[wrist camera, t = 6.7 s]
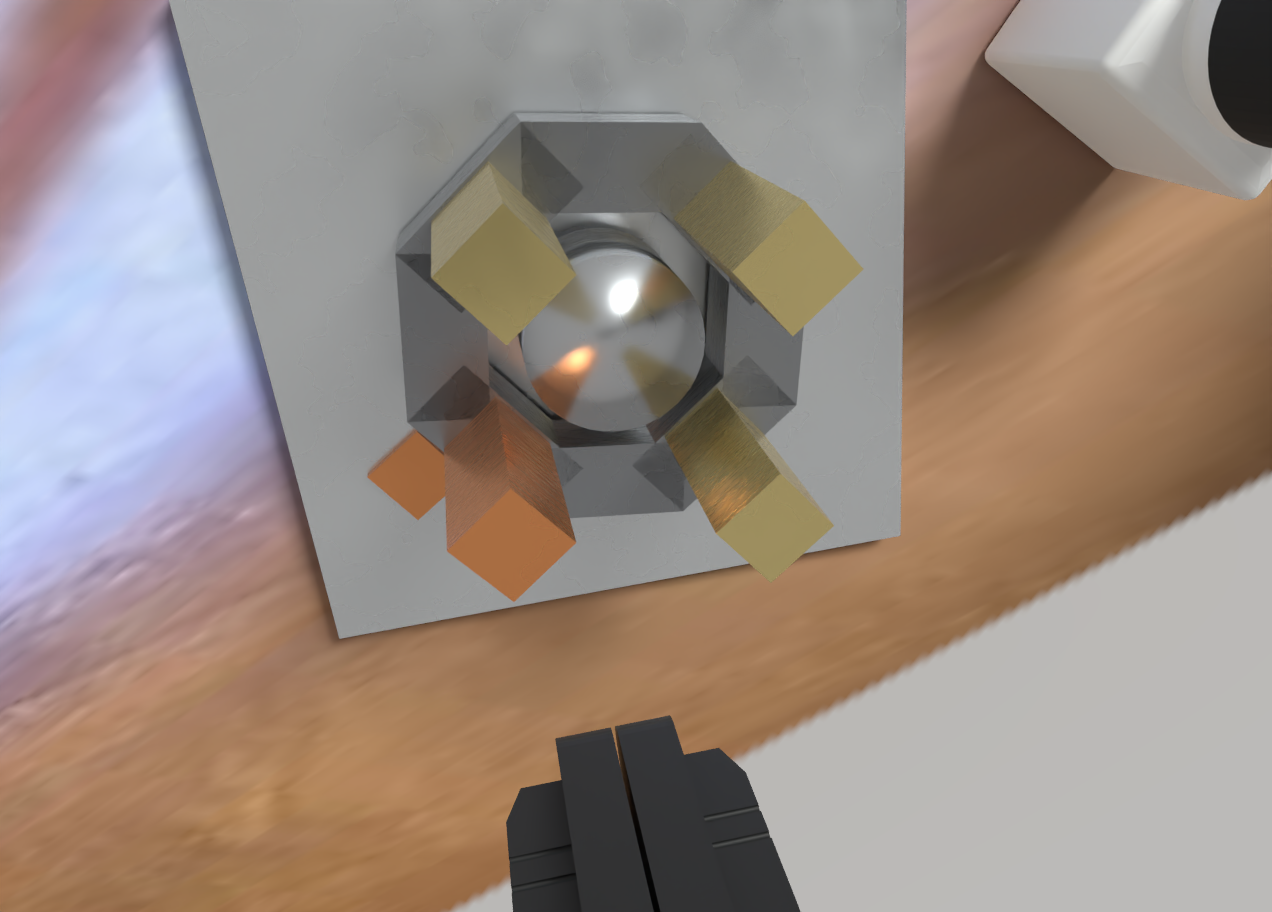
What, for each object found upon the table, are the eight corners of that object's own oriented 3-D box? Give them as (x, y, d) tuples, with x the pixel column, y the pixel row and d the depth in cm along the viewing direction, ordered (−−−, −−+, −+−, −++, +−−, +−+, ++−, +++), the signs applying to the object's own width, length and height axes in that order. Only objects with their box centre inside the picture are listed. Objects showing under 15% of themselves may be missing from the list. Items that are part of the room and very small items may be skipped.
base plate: (894, -84, 32) (969, -98, 28) (890, 524, 42) (945, 587, 37) (174, -9, 30) (128, -10, 25) (341, 623, 39) (329, 705, 34)
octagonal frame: (388, 111, 31) (372, 153, 22) (796, 114, 33) (919, 153, 25) (415, 494, 36) (411, 644, 28) (766, 475, 38) (860, 608, 30)
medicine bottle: (1114, 171, 37) (1392, 241, 26) (976, 57, 35) (1222, 83, 24) (1249, -9, 35) (1607, -13, 25) (1114, -143, 33) (1447, -213, 22)
